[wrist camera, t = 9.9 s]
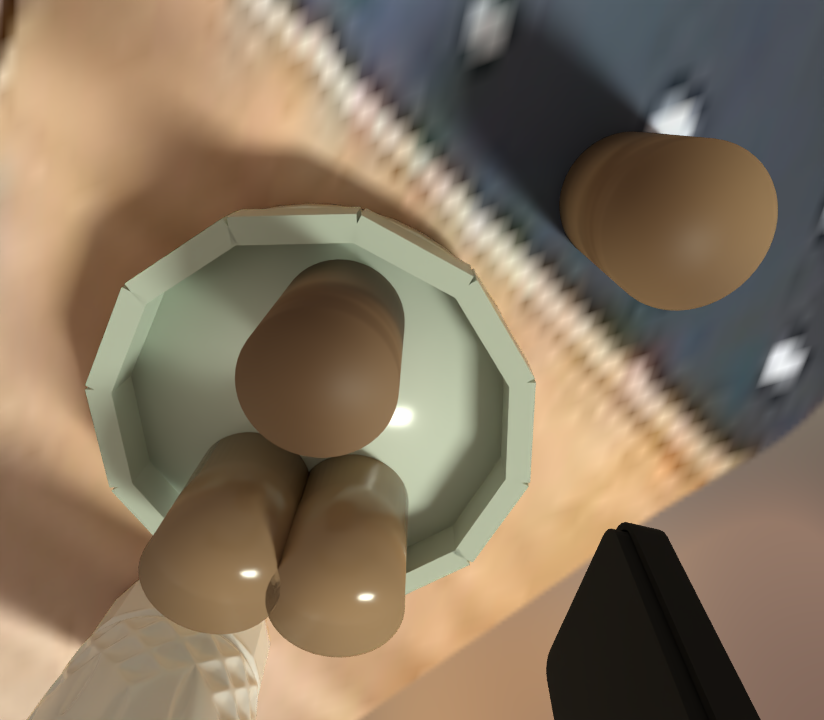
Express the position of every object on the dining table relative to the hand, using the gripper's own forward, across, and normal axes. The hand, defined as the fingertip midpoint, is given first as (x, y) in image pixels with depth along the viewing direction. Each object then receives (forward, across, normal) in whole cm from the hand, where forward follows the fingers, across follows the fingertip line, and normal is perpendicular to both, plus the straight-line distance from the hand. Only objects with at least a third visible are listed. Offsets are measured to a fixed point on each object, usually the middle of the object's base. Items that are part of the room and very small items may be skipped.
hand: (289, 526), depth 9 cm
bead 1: (+11, +1, +1) cm, 11 cm away
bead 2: (+12, -7, -5) cm, 15 cm away
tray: (+12, +1, +4) cm, 13 cm away
